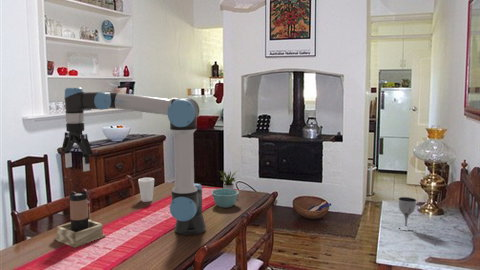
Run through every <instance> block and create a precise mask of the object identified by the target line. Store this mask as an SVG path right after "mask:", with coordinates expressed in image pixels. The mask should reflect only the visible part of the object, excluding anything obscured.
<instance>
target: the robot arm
mask: <svg viewBox="0 0 480 270" xmlns="http://www.w3.org/2000/svg"><path fill="white" fill-rule="evenodd" d="M64 107H65V123H66V124H65V125H66V126H65V129H66V131H65V132H64V137H63V141H62V146H61V152H63V153H64V159H65V160H64V161H65V168H67V169H69V168H72V167H73V161H72V157H73V156H72V149H73V146H74V144H76V145H77V146H78V148H79V149H80V151H81V153H82V172H90V171H91V169H90V162H91V161H90V157H91V156H93V151H92V148H91V145H90V141H89V137H88V134H87V133H83V132H84V131H85V123H84V121H85V119H84V118H85V116H84V115H85V114H84V112H85V111H84V110H100V111H101V110H102V111H103V110H109V109H115V110H117V109H119V110H124V111H133V112H139V113H148V114H155V115H156V114H157V115H162V116H167V118H168V121H169V128H170V131H171V132H172V133H173V159H174V160H173V164H174V165H173V166H174V186H173V187H172V189H171V202H170V204H169V213H170V215H171V217H173V218H174V219H175V224H174V232H175V233H176V234H178V235H182V236H196V235H200V234H203V233H205V232H206V231H207V224H206V222H205V218H204V215H203V186H202V184H201V183H195V167H194V166H195V161H194V160H195V157H194V156H195V155H194V133H195V131H197V129H198V127H197V125H198V124H197V123H198V122H197V120H198V119H197V118H198V117H199V115H200V106H199V104H198V102H197V101H196V100H194V99H193V98H190V97H181V98H180V97H172V98H169V99H168V98H164V97H163V98H162V97H153V96H145V95H138V94H137V95H136V94H130V93H129V94H128V93H123V92H114V91H111V90H110V91H109V90H107V91H96V92H95V91H93V92H92V91H90V92H86V91H83V88H82V87H66V88H65V89H64Z"/></svg>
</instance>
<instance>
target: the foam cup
mask: <svg viewBox="0 0 480 270" xmlns="http://www.w3.org/2000/svg"><path fill="white" fill-rule="evenodd" d="M137 182H138V183H137V184H138V187H139V193H140V199H141V202H142V203H143V202H144V203H145V202H148V203H149V202H152V201H153V198H154V197H153V196H154V189H155V188H154V187H155V178H153V177H142V178H138V181H137Z"/></svg>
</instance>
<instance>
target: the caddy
mask: <svg viewBox="0 0 480 270" xmlns="http://www.w3.org/2000/svg"><path fill="white" fill-rule="evenodd" d="M103 227H104V226H103V223H101V222H97V221H94V220H92V219H90V220H89V219H88V228H87V229H84V230H81V231H78V232H74V231H72V230H71V221H70V222H67V223H63V224H61V225H60V224H59V225H57V226H56V234H57V235H56V236H55V237H53V238H54V240H55V241H58V242H60V243H62V244H64V245H67V246H69V247H72V248H78V247H81V246H83V245H86V243H87V244H89V243H91V241H92V242H95V241H97V239H98V240H100V238H101V239H102V238H103V239H104V238H106V237H105V236H107V235H106V234H105V233H104V232H103V230H104V229H103ZM94 240H95V241H94Z"/></svg>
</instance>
